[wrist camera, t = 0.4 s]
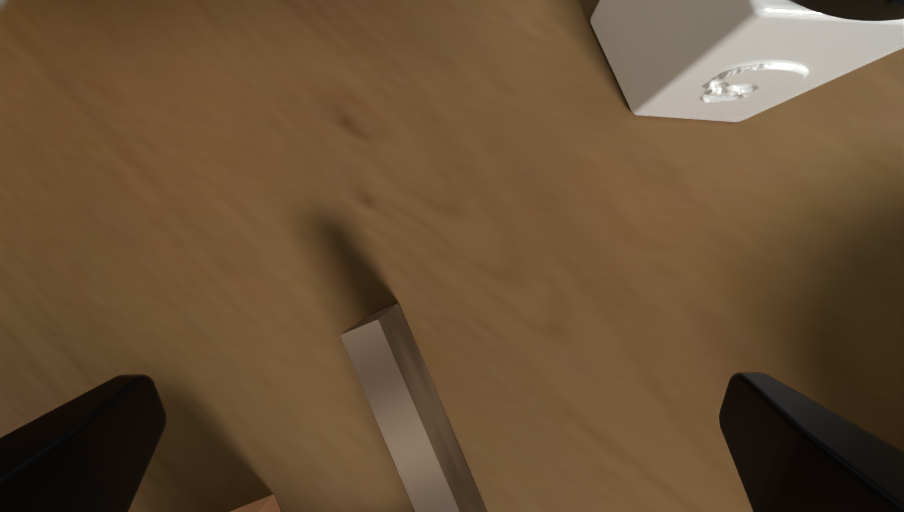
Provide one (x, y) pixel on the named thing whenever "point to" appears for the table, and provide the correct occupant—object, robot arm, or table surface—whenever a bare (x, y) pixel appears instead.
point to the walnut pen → (411, 414)
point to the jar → (738, 50)
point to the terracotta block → (261, 505)
